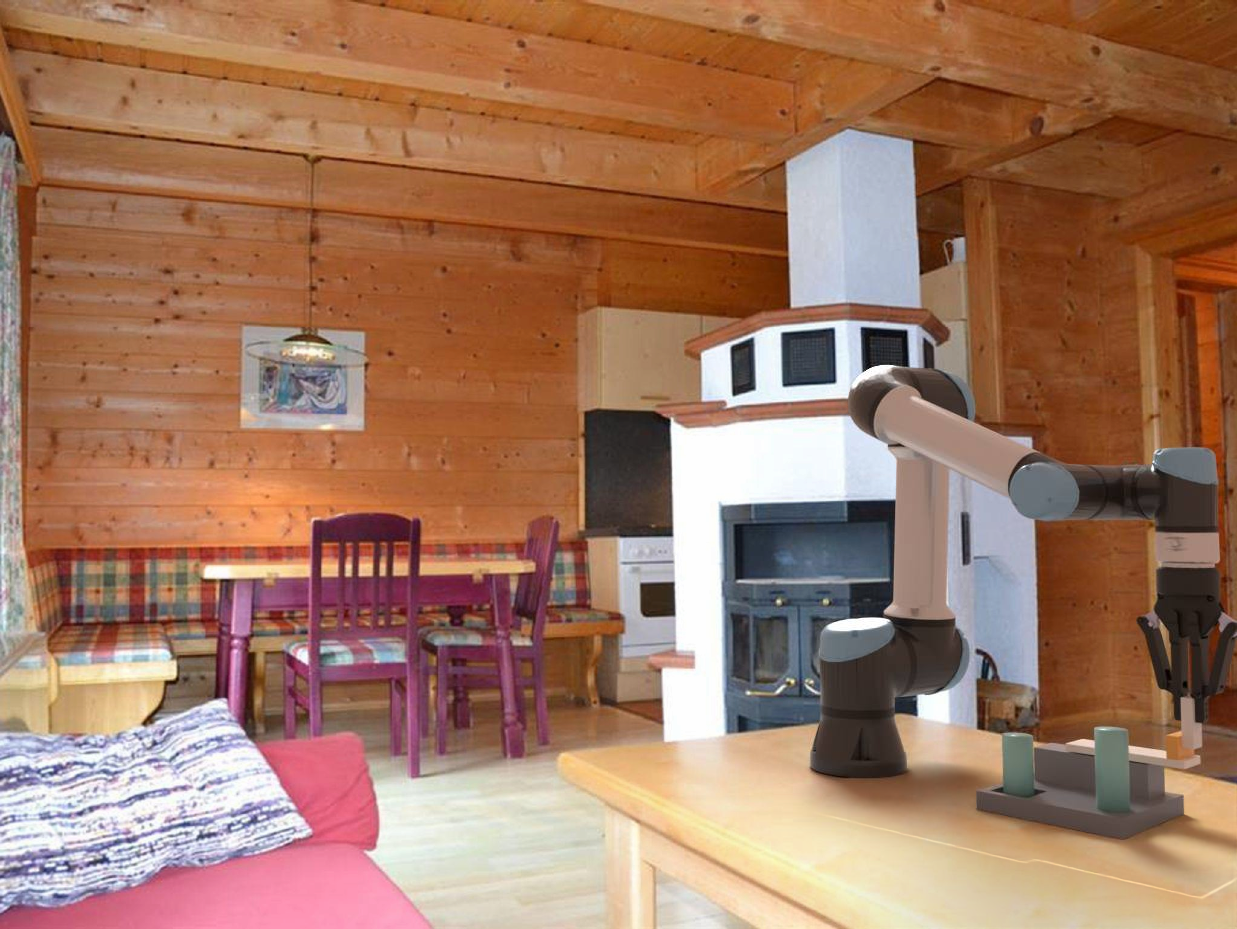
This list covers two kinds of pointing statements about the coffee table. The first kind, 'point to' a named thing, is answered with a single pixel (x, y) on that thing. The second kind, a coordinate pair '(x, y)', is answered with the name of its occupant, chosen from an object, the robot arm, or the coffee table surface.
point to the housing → (1091, 790)
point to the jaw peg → (1018, 764)
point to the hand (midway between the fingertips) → (1192, 747)
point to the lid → (1148, 752)
